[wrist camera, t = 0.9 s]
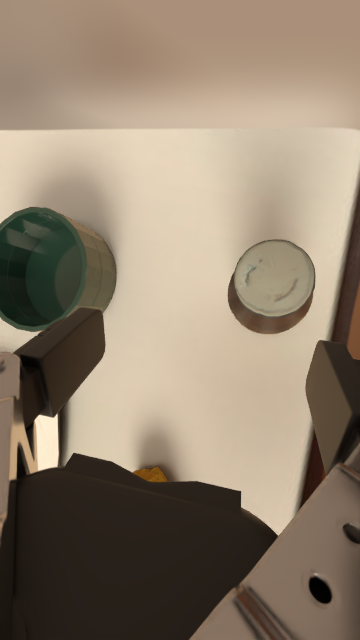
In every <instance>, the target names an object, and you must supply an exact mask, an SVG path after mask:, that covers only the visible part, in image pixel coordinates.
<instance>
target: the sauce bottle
mask: <svg viewBox="0 0 360 640" xmlns="http://www.w3.org/2000/svg"><path fill="white" fill-rule="evenodd" d="M314 288H315V268H314V265H313V263H312V261H311V259H310V257H309V256H308V254H307V253H306V252H305V251H304V250H303V249H301V248H300V247H298V246H296V245H295V244H293V243H292V242H290V241H286V240H268V241H263V242H260V243H258V244H256V245H254V246H253V247H251V248H249V249H248V250H247V251H246V252H245V253H244V254H243V256H242V257H241V258H240V260H239V262H238V263H237V266H236V268H235V272H234V273H233V275H232V277H231V280H230V283H229V288H228V302H229V306H230V309H231V311H232V313H233V314H234V316H235V317H236V319H237V320H238V321H239V322H240V323H241V324H242V325H243V326H244V327H246V328H247V329H249V330H251V331H254V332H257V333H261V334H276V333H280V332H283V331H286V330H288V329H290V328H292V327H293V326H295V325H296V324H297V323H299V322H300V321H301V320H302V319H303V318H304V316H305V315H306V314H307V312H308V310H309V308H310V306H311V303H312V298H313V291H314Z"/></svg>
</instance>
